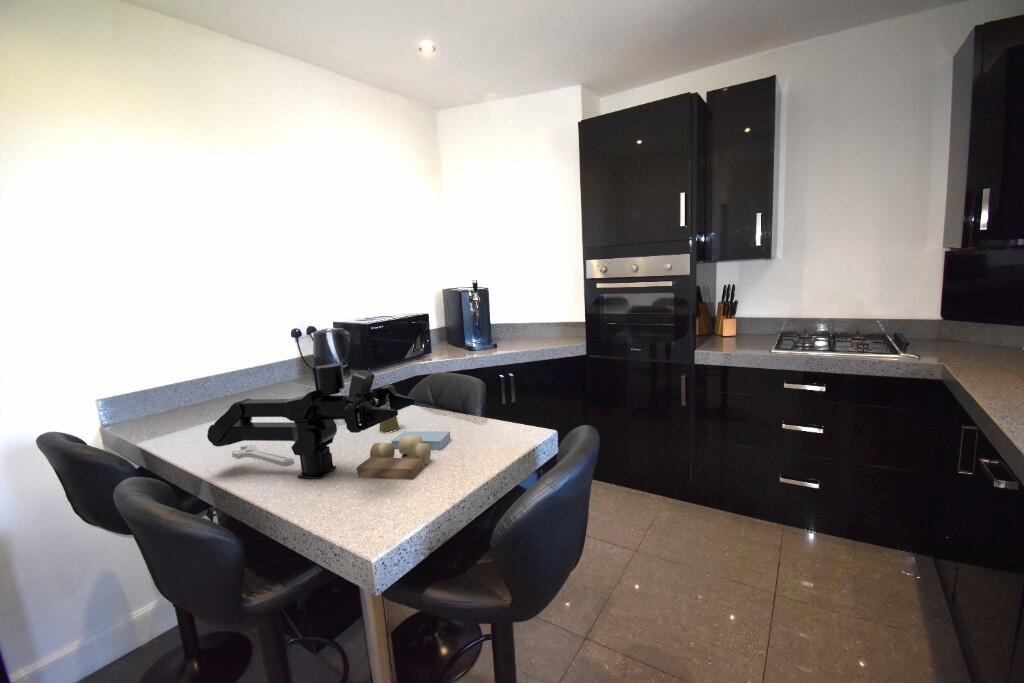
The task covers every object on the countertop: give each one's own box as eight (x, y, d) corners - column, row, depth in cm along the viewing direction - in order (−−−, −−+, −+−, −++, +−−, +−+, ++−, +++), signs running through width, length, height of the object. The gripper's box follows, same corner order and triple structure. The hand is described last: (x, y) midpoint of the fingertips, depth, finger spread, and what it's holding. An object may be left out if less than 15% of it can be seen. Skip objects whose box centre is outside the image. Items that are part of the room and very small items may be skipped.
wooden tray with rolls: (357, 477, 107) (355, 457, 107) (380, 458, 118) (378, 440, 118) (412, 479, 104) (410, 458, 104) (431, 459, 115) (429, 440, 115)
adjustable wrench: (297, 464, 120) (296, 458, 120) (272, 474, 115) (271, 467, 114) (251, 448, 134) (250, 443, 134) (227, 456, 129) (226, 450, 129)
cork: (384, 434, 138) (380, 399, 136) (376, 430, 143) (372, 396, 141) (402, 429, 142) (399, 394, 140) (394, 425, 146) (390, 391, 145)
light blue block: (383, 456, 119) (381, 439, 119) (405, 439, 132) (403, 423, 132) (433, 457, 116) (431, 439, 116) (450, 439, 129) (449, 423, 129)
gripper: (316, 383, 97) (383, 381, 94) (362, 365, 115) (419, 364, 112) (322, 433, 99) (389, 433, 96) (367, 408, 117) (423, 408, 114)
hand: (406, 406), depth 104 cm, fingers open, 9 cm apart
